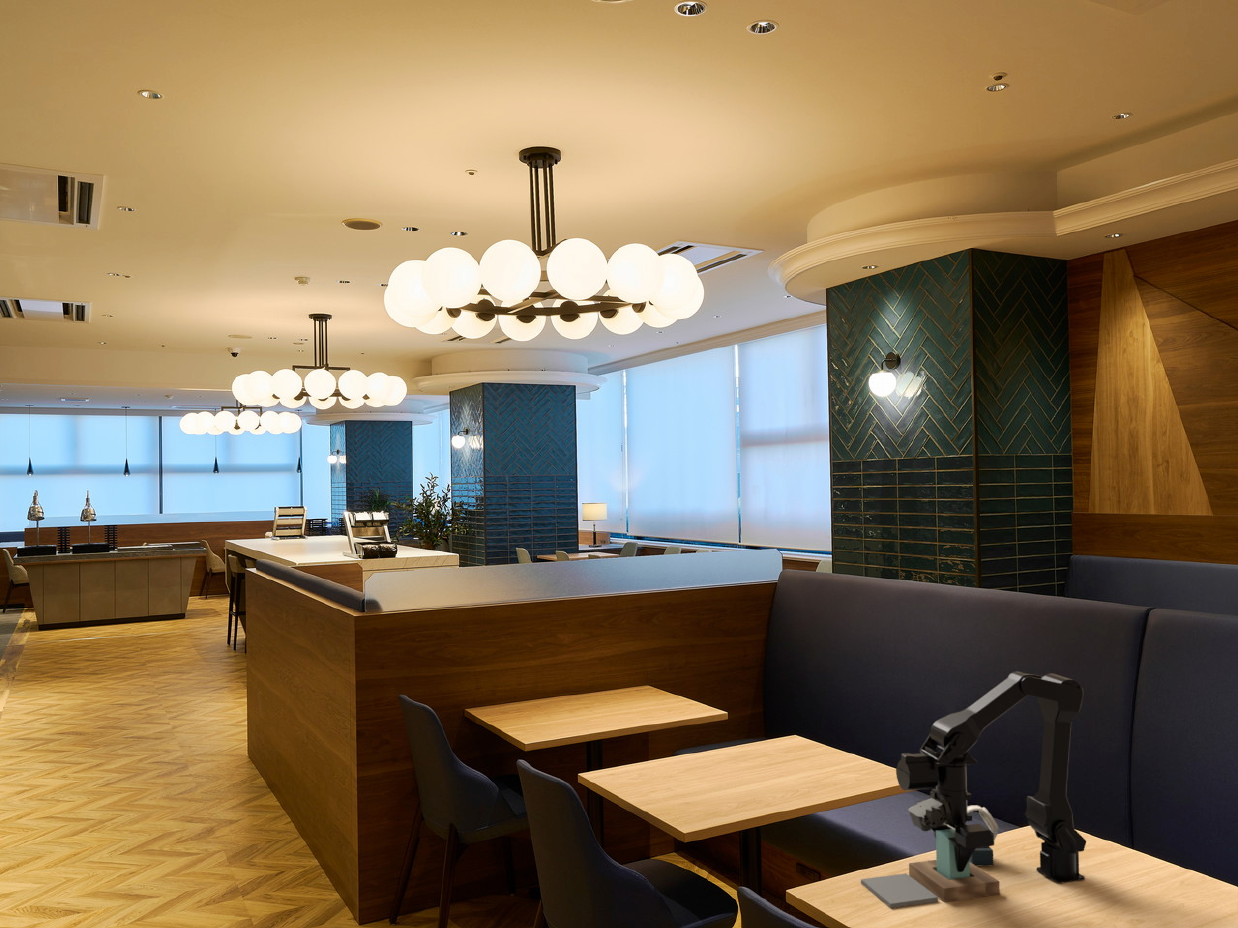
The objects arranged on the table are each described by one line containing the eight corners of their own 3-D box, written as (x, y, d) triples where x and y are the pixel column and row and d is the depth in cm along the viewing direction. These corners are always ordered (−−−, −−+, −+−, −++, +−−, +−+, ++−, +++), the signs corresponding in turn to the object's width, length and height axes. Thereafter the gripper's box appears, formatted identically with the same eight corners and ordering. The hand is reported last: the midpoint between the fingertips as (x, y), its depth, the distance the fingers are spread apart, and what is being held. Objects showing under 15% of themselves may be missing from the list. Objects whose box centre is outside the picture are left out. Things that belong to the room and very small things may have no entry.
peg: (956, 878, 183) (955, 828, 183) (970, 888, 178) (968, 836, 179) (936, 881, 182) (935, 830, 182) (950, 890, 177) (949, 838, 178)
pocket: (961, 868, 187) (961, 856, 187) (999, 894, 176) (999, 880, 176) (909, 875, 184) (909, 863, 185) (944, 901, 173) (944, 888, 173)
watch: (1003, 865, 189) (1001, 811, 189) (963, 865, 189) (962, 811, 189) (992, 854, 194) (991, 802, 195) (954, 854, 195) (953, 802, 195)
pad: (906, 877, 184) (906, 873, 184) (938, 901, 173) (937, 896, 173) (860, 883, 181) (860, 879, 181) (890, 907, 171) (890, 903, 171)
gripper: (889, 775, 188) (891, 852, 187) (942, 806, 170) (944, 891, 169) (937, 770, 190) (939, 846, 190) (995, 800, 172) (997, 884, 172)
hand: (953, 866), depth 180 cm, fingers closed on peg, 4 cm apart
